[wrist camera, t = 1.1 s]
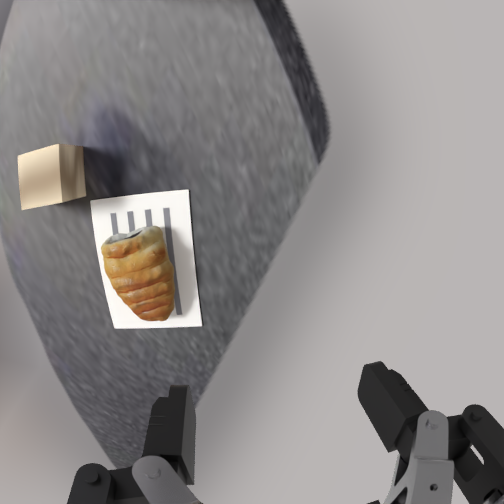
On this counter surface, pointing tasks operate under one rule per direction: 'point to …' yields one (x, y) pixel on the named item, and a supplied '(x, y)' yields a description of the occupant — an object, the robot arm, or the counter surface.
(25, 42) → the counter surface
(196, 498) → the robot arm
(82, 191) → the maple cube
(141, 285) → the pastry
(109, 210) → the letter
